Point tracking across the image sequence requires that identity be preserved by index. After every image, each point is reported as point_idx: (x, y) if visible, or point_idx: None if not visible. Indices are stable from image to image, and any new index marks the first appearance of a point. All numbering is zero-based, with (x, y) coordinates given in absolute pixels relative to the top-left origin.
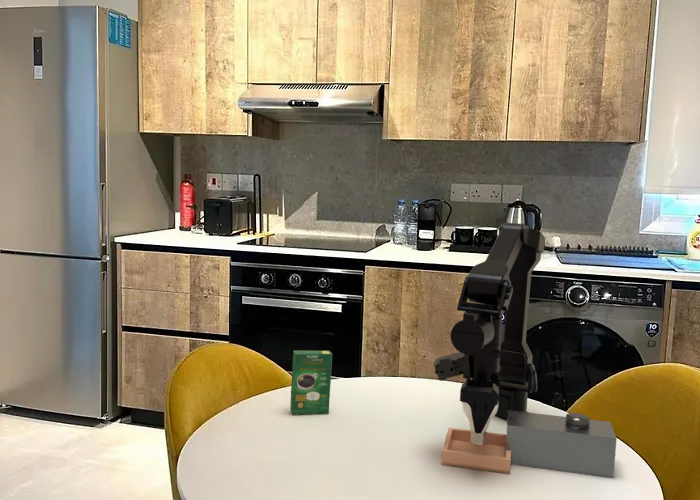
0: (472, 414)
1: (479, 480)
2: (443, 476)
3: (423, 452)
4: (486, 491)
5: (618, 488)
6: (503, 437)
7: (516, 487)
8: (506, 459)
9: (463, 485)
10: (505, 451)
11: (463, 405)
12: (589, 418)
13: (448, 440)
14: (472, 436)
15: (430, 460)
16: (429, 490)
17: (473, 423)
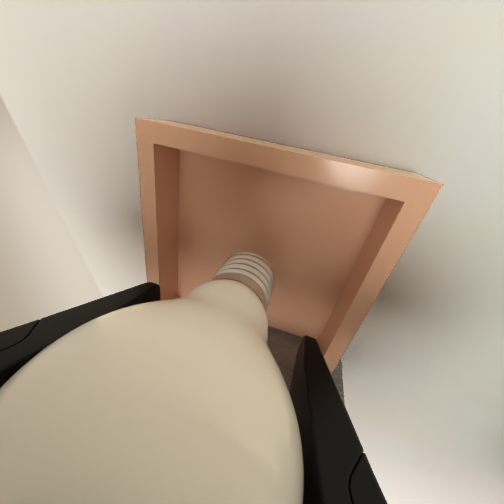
0: (16, 329)
1: (118, 223)
2: (98, 123)
3: (268, 34)
4: (77, 226)
5: None
6: None
7: (120, 288)
8: None
9: (77, 178)
10: (275, 330)
11: (84, 333)
12: None
13: (250, 160)
14: (223, 267)
15: (195, 74)
16: (5, 70)
17: (98, 299)
